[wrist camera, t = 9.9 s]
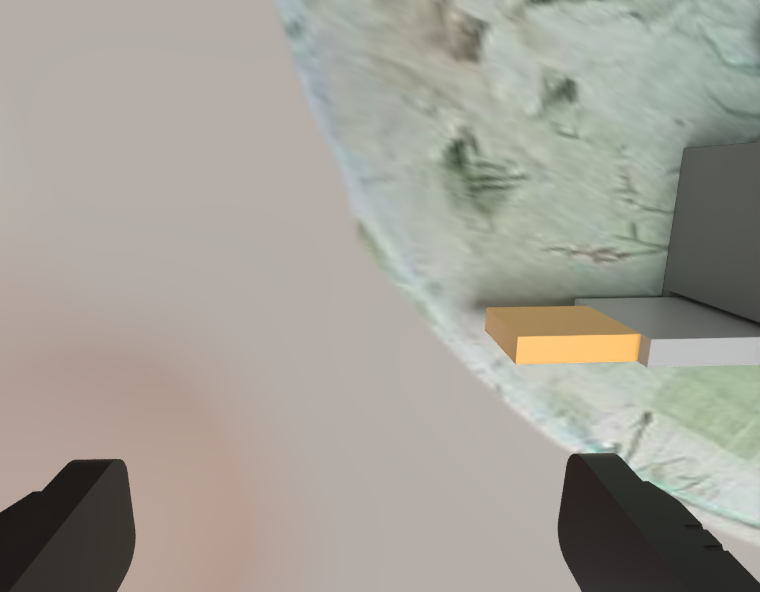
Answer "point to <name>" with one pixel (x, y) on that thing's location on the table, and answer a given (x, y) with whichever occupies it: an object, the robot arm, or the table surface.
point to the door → (626, 333)
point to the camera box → (717, 229)
